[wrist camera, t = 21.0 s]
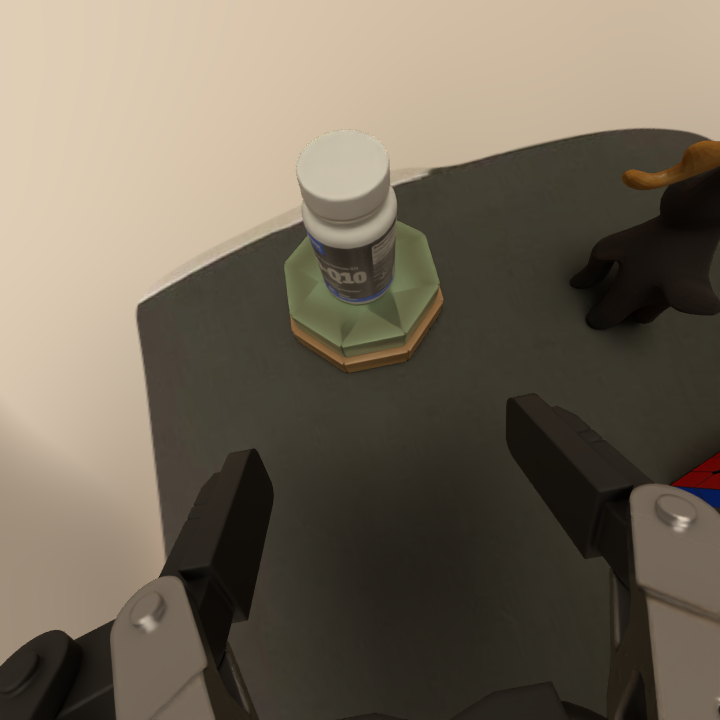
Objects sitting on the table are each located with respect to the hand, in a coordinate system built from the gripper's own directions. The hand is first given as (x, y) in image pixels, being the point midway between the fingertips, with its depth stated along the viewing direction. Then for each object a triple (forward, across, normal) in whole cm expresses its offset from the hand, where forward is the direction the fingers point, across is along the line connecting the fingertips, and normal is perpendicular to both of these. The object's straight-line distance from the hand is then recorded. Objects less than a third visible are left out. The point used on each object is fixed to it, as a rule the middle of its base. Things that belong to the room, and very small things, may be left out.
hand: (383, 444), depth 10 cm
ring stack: (+16, -1, 0) cm, 17 cm away
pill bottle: (+14, -1, -2) cm, 14 cm away
